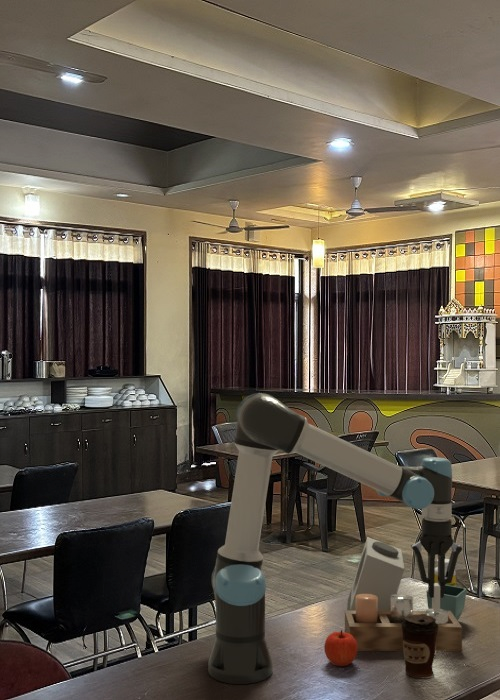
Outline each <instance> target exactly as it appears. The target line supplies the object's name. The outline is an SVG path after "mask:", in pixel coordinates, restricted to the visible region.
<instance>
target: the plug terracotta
mask: <svg viewBox="0 0 500 700" xmlns="http://www.w3.org/2000/svg"><path fill="white" fill-rule="evenodd" d="M356 623H378V597H377V596H375V595H372V594H359V595H356Z"/></svg>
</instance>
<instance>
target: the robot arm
mask: <svg viewBox="0 0 500 700" xmlns="http://www.w3.org/2000/svg"><path fill="white" fill-rule="evenodd" d="M235 416H236V422H237V423H236V427H235V436H234V441H233V444H234V445H235V447H236V449H237V450H238V455H237V462H236V467H235V468H236V469H235V475H234V476H235V477H234V482H233V489H232V494H231V495H232V496H231V503H230V509H229V515H228V521H227V529H226V536H225V539H224V540H225V543H224V545H222V546H221V547H219V548H218V550H217V554H216V560H215V566H214V568H213V571H212V573H211V586H212V590H213V595H214V601H215V640H214V641H213V642H214V643H213V646H212V649H211V652H210V655H209V659H208V663H207V664H208V668H207V670H208V675H209V676H210V677H211V678H212V679H214V680H216V681H219V682H222V683H226V684H232V685H247V684H254V683H258V682H261V681H262V682H263V681H264V680H267V679H268V678H269V677H270V676H272V673H273V671H274V669H273V667H274V666H273V658H272V656H271V652H270V649H269V646H268V642H267V639H266V591H267V583H266V578H265V574H264V573H263V572H262V569H263V568H262V567H263V562H264V561H263V560H264V556H263V554H262V553H261V551H260V550H259V549H260V540H261V535H262V527H263V522H264V521H263V520H264V516H265V515H264V514H265V507H266V502H267V494H268V487H269V482H270V475H271V469H272V461H273V456H274V455H276V454H277V453H278V452H279V451H281V452H283V453H285V454H288V455H291V454H295V453H296V454H298V455H300V456H302V457H305V458H307V459H308V460H311V461H313V462H315V463H317V464H319V465H321V466H323V467H325V468H328V469H331V470H332V471H334V472H337V473H339V474H341V475H343V476H346V477H347V478H350V479H352V480H354V481H356V482H359V483H360V484H362V485H364V486H367V487H370V488H371V489H374V490H375V491H376V493H377V494H378V495H379V496H380V497H387V498H390V497H391V498H392V499H395V500H397V501H399V502H401V503H403V504H405V505H406V506H407V507H409V508H412V509H415V510H421V516H422V517H423V518H422V519H421V535H420V537H419V541H418V542H416V543H412V544H411V545H410V547H411V550H412V551H413V552H414V554H415V558H416V563H417V567H418V571H419V575H420V580H421V581H422V582H423V583H424V584H427V585H428V586H427V588H428V589H427V590H428V595H429V597H430V598H432V609H433V610H434V612H440V598H443V597H444V586H445V584H447V583H451V582H452V578H453V574H454V570H455V571H456V567H457V562H458V558H459V555H460V554H461V552H462V550H463V547H462V546H461V545H460V544H457V543H455V542H454V539H453V536H452V534H453V533H452V528H453V527H452V526H453V525H452V520H451V518H452V517H453V516H452V514H453V513H452V508H453V507H452V503H453V502H452V497H453V496H452V495H453V494H452V492H453V486H452V485H453V466H452V462H451V460H449V459H447V458H444V457H435V456H434V457H431V456H430V457H424V458H423V459H422V460H421V463H420V465H417V466H401V465H397V464H396V463H393V462H391V461H389V460H387V459H384V458H382V457H380V456H379V455H376V454H374V453H373V452H370V451H368V450H366V449H363V448H362V447H359V446H357V445H355V444H354V443H351V442H349V441H347V440H344V439H342V438H340V437H338V436H336V435H334V434H331V433H330V432H328V431H326V430H323V429H322V428H319V427H318V426H317V427H316V426H315V425H314V424H313V425H312V424H311V423H309V422H308V419H307V417H305V416H303V415H301V414H300V413H298V412H296V411H294V410H293V409H291V408H289V407H288V406H286V405H285V404H284V403H283V402H281V401H280V400H279V399H277V398H276V397H275V396H273V395H271V394H267V393H264V392H263V393H262V392H261V393H260V392H258V393H253V394H250V395H247V396H246V397H245V398H244V399H243V400H242V401H241V402H240V404H239V405H238V407H237V410H236V415H235ZM422 548H423V549H424V550H425V552H426V553H427V573H426V569H425V568H426V567H425V563H424V560H423V556H422V555H423V554H422V553H421V552H422V550H423V549H422ZM450 548H451V549H450ZM449 550H451V552H450V555H449V556H450V557H449V558H448V559H449V563H448V567H447V571H446V575H445V558H446V554H447V552H448V551H449ZM436 556H437V559H438V565H437V567H438V583H435V568H436V567H435V566H436V565H435V563H436Z"/></svg>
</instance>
